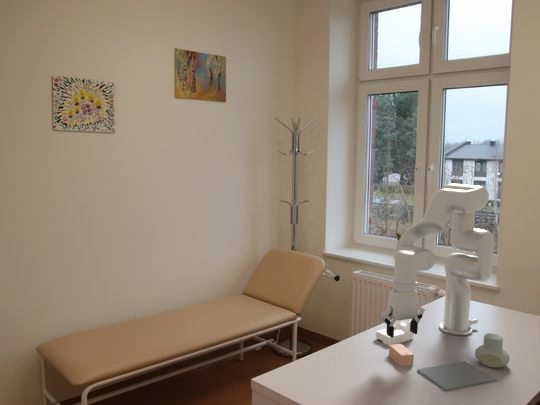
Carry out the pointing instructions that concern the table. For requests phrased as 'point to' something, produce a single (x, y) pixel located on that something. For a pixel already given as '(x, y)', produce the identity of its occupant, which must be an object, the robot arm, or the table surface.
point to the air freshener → (492, 352)
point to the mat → (456, 375)
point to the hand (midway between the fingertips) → (401, 334)
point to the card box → (401, 355)
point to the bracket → (396, 333)
